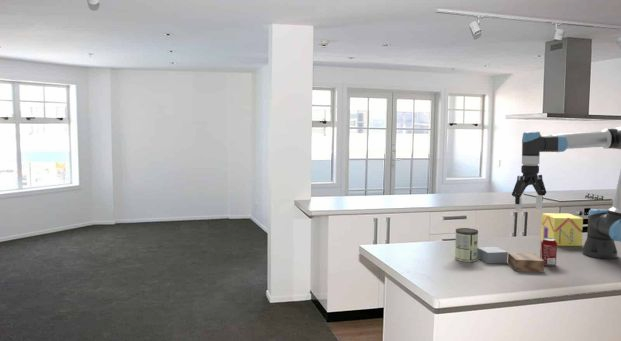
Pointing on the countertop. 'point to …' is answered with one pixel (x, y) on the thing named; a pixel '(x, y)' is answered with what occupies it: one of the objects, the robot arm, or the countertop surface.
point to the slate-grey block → (492, 254)
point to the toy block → (562, 228)
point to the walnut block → (526, 262)
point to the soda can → (548, 251)
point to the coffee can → (466, 244)
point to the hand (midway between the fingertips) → (528, 210)
